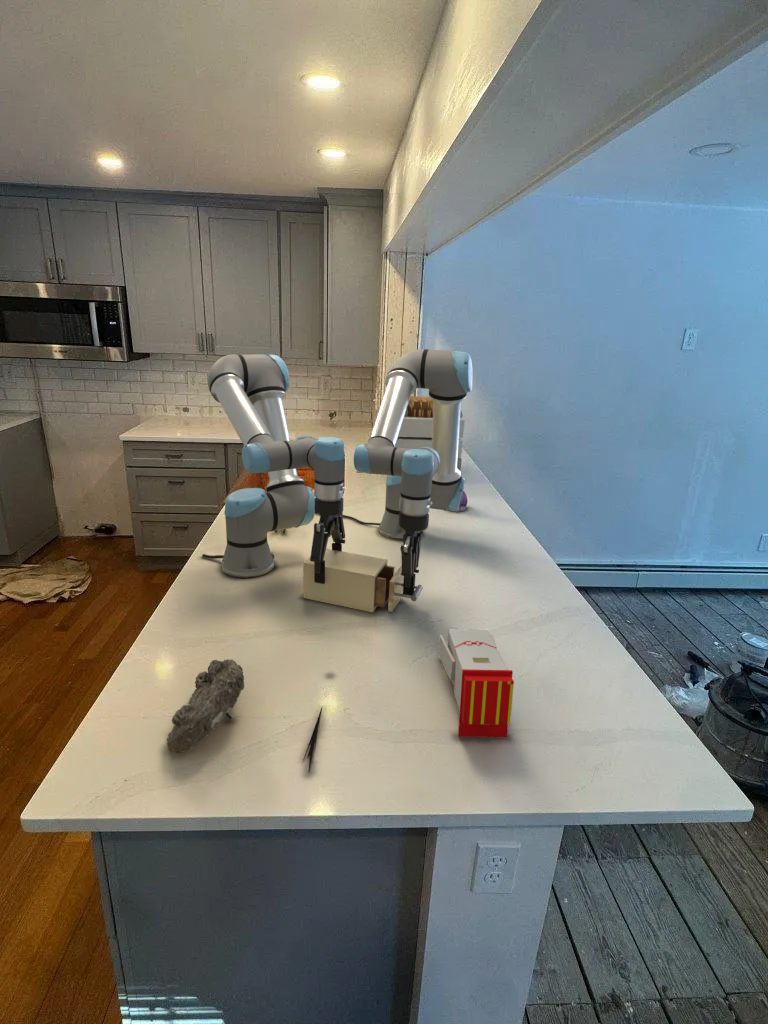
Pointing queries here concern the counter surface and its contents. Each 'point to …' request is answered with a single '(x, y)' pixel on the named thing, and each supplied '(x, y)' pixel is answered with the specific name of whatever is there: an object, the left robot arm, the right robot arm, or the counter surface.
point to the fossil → (206, 705)
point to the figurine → (462, 500)
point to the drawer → (391, 588)
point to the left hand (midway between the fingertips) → (328, 573)
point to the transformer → (422, 426)
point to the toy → (478, 682)
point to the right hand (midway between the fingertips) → (408, 596)
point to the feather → (313, 740)
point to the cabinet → (344, 580)
